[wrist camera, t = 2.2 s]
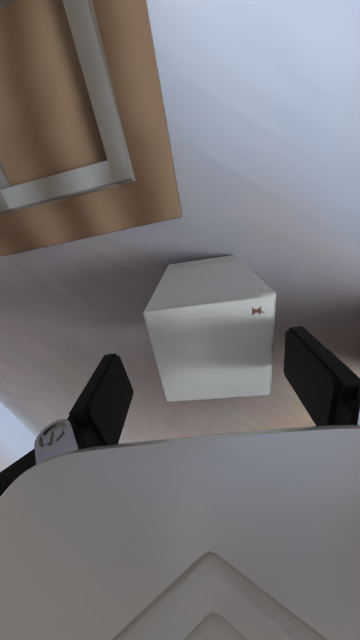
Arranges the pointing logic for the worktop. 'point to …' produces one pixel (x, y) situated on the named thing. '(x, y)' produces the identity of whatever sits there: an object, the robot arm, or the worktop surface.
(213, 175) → the worktop surface
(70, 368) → the worktop surface
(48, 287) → the worktop surface
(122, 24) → the pocket board
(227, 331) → the supplement box
